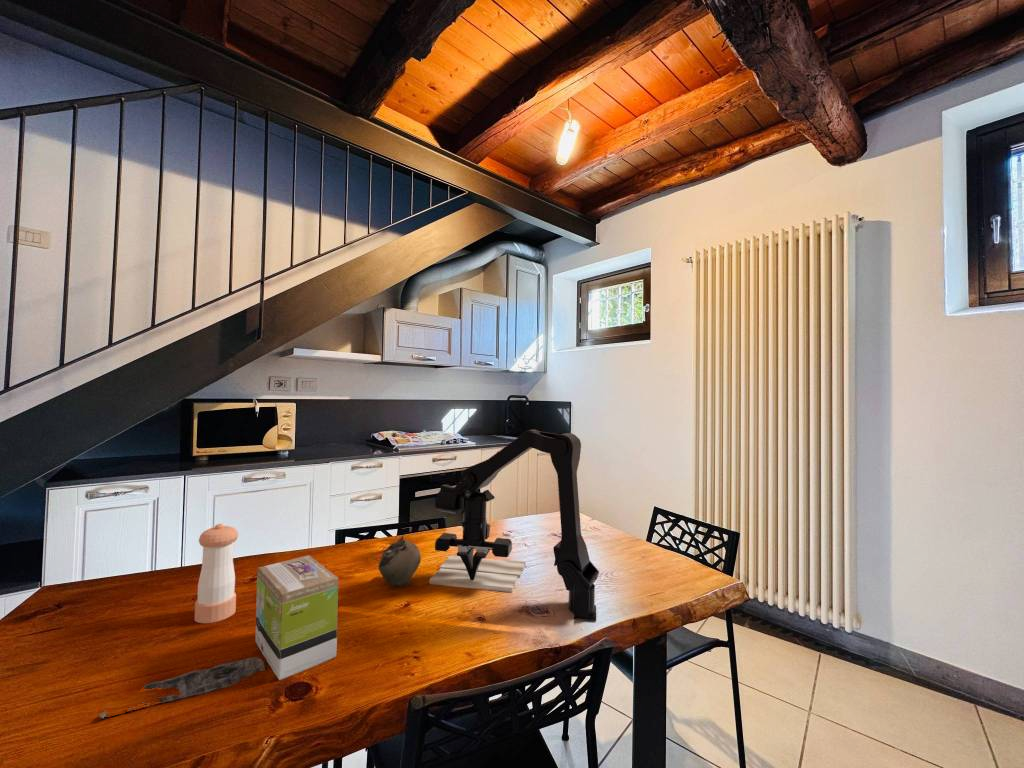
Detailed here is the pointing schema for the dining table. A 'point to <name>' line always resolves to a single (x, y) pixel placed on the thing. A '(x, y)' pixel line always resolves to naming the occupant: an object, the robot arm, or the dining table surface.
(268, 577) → the tea box
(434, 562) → the dining table surface
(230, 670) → the driftwood
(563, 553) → the robot arm
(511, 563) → the beige flat panel
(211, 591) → the pepper shaker
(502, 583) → the board
